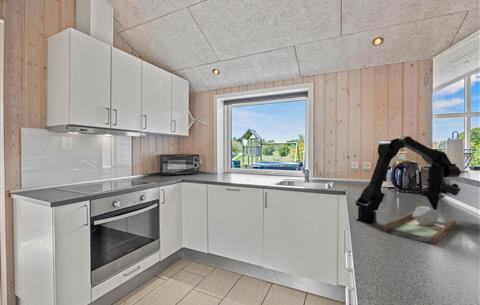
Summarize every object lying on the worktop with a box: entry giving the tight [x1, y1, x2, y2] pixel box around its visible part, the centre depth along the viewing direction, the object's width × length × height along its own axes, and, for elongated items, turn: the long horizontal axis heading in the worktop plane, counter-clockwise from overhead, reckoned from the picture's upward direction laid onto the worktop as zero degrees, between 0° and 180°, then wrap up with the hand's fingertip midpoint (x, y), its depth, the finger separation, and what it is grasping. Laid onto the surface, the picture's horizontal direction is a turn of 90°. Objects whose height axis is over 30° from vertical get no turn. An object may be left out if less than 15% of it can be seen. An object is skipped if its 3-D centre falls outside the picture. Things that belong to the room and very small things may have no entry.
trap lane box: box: [383, 211, 457, 246], centre depth 92 cm, size 16×34×2 cm, turn 126°
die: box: [412, 206, 440, 226], centre depth 95 cm, size 8×9×10 cm
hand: (435, 209), depth 105 cm, fingers closed
